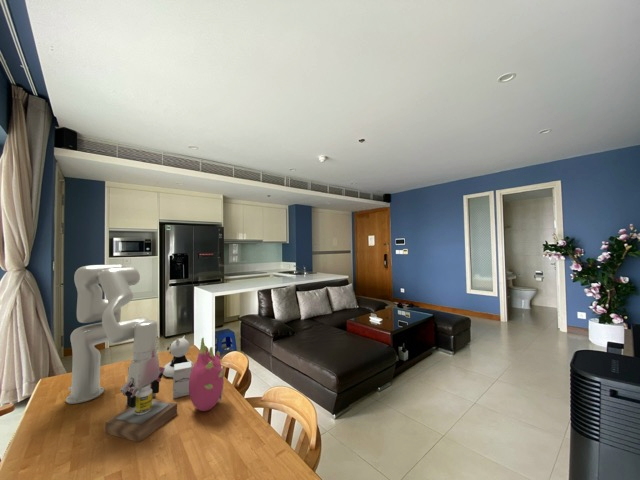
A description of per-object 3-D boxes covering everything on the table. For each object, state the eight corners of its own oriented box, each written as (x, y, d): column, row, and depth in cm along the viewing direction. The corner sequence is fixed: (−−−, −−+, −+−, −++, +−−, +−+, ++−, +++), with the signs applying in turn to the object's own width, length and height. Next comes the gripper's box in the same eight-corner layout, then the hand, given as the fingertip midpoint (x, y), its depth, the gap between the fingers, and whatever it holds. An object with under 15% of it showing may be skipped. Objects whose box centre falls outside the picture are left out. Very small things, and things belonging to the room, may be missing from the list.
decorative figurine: (170, 366, 146) (171, 331, 146) (197, 365, 147) (197, 330, 148) (156, 379, 131) (157, 340, 132) (186, 378, 132) (187, 339, 133)
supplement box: (172, 399, 114) (173, 370, 114) (173, 391, 120) (173, 363, 121) (191, 394, 117) (191, 366, 118) (190, 387, 124) (191, 360, 124)
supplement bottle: (138, 417, 95) (139, 390, 95) (132, 412, 97) (132, 386, 98) (154, 409, 99) (155, 383, 100) (147, 405, 102) (148, 379, 102)
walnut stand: (105, 433, 92) (105, 420, 93) (146, 407, 108) (146, 396, 108) (139, 442, 88) (139, 429, 88) (177, 413, 104) (177, 402, 104)
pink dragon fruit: (227, 415, 103) (229, 339, 104) (189, 426, 96) (191, 345, 97) (219, 393, 118) (221, 327, 119) (186, 402, 111) (188, 332, 112)
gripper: (157, 345, 108) (156, 386, 108) (114, 362, 92) (113, 411, 91) (171, 347, 106) (170, 389, 106) (130, 364, 90) (129, 414, 89)
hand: (143, 399), depth 98 cm, fingers open, 9 cm apart
